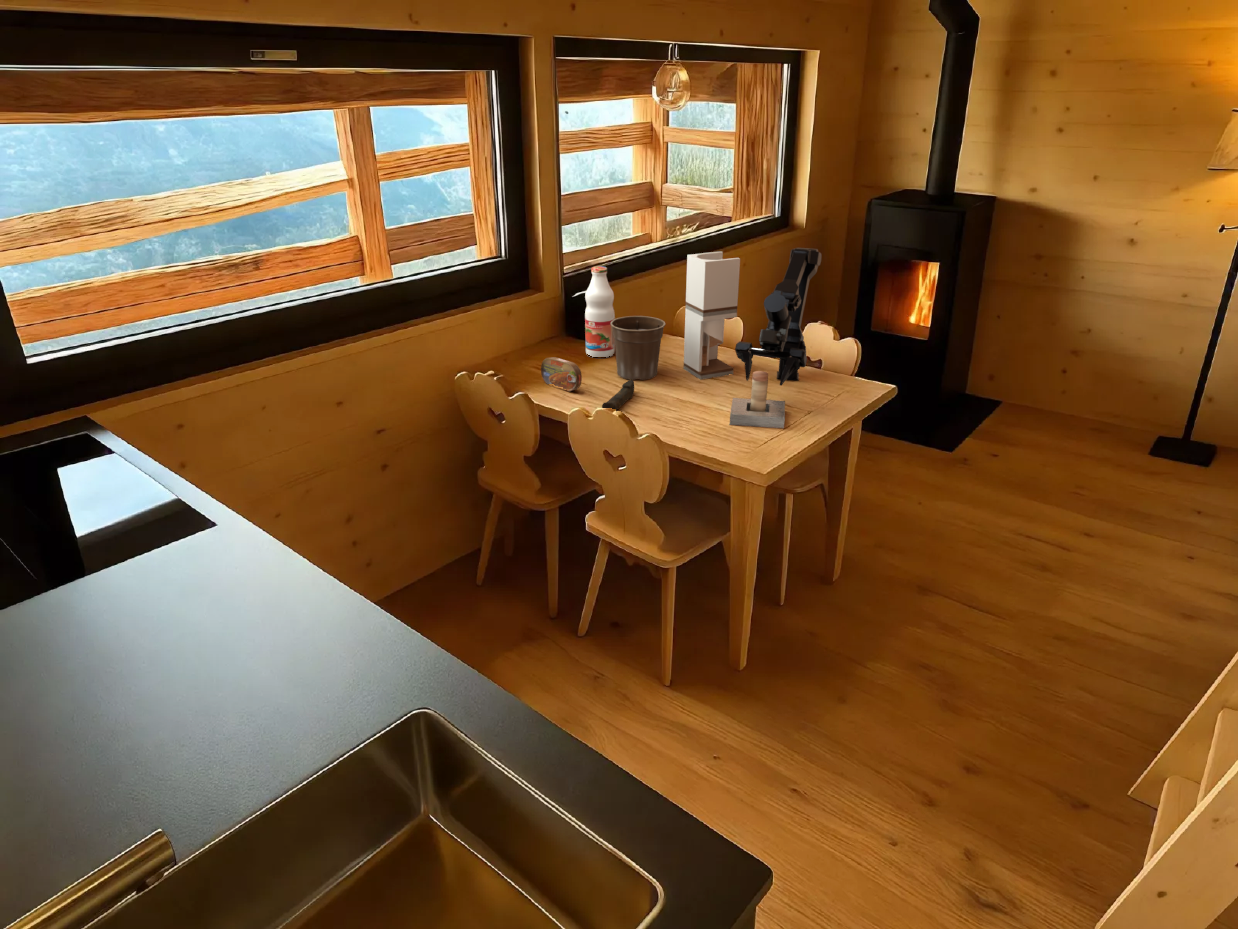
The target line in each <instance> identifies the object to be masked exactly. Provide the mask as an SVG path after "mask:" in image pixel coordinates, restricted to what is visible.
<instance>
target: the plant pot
mask: <svg viewBox="0 0 1238 929" xmlns="http://www.w3.org/2000/svg"><path fill="white" fill-rule="evenodd" d="M611 326H612V329H613V337H614V339H615V360H616V361H615V362H616V373H617V375H618V377H620V378H622V379H625V380H633V381H635V380H637V379H638V380H640V381H644V380H651V379H653V378H655V377H656V376H657V375H658V368H659V361H660V360H659V358H660V351H661V344H662V338H663V333H664V328H665V326H666V322H665V321H664V320H663V319H661V318H657V317H652V316H645V315H629V316H622V317H617V318H615V319H614V320H612V321H611Z"/></svg>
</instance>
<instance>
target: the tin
mask: <svg viewBox="0 0 1238 929" xmlns="http://www.w3.org/2000/svg"><path fill="white" fill-rule="evenodd" d="M540 372H541V377H542V379H543V381H544V382H545V384H547V385H548V384H554V385H555V386H558V387H563V389H566V390H567V391H566V392H572V391H574V390H577V389H579V388H580V387H581V385H582V381H583V380H582V378H583V377H582V371H581V369H580V367H579V365H577V363H575V362H573V361H569V360H565V359H562V358H559V357H555V356H554V357H552V356H551V357H546V358H545V359H543V361H542V363H541V365H540Z"/></svg>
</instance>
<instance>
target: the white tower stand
mask: <svg viewBox="0 0 1238 929" xmlns="http://www.w3.org/2000/svg"><path fill="white" fill-rule="evenodd" d="M723 253H724V251H713V252H712V251H711V252H703V253H702V252H701V253H695V254H694V253H693V254H692V253H691V254H687V257H686V260H687V261H686V285H685V286H686V288H685V313H684V315H685V316H684V317H685V320H684V340H683V342H684V347H683V348H684V349H683V370H684V371H686V372H688V373H689V374H690V375H692V376H694V377H696V378H697V379H699V380H706V379H712V377H713V378H719V377H724V376H725V375H726V376H730V375H729V374H732V375H734V369H735V368H734V367H733V366H731V365H730V364H729V363H726V362H724V361H723V360H720V359H719V358H718V357H719V355H718V353H719V352H718V351H719V346H720V345H722V344H724V334H725V333H724V332H725V319H732V318H737V317H738V300H739V299H738V298H739V285H740V284H739V283H740V268H741V267H740V265H741V258H739V257H733V258H723V256H724V255H723Z"/></svg>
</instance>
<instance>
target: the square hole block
mask: <svg viewBox="0 0 1238 929" xmlns="http://www.w3.org/2000/svg"><path fill="white" fill-rule="evenodd" d="M731 400H732V401H731V407H730V413H729V425H730V426H740V427H741V426H743V427H757V428H773V429H784V428H785V419H786V411H785V410H786V401H785V400H775V399H766V410H765V412H755V411H750V407H751V398H743V397H742V398H739V397H732V399H731Z"/></svg>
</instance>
